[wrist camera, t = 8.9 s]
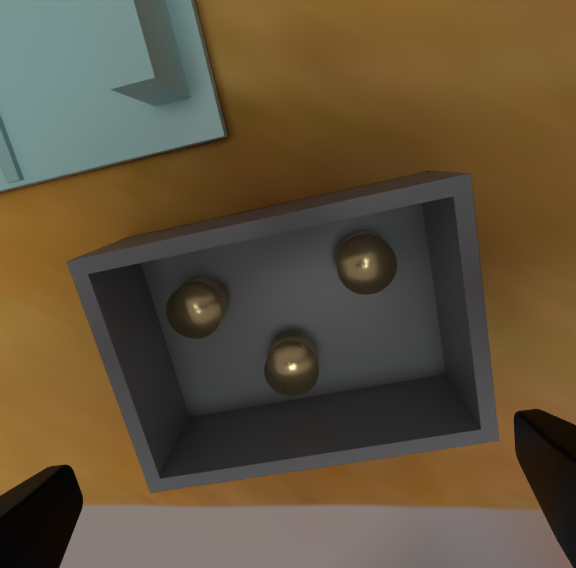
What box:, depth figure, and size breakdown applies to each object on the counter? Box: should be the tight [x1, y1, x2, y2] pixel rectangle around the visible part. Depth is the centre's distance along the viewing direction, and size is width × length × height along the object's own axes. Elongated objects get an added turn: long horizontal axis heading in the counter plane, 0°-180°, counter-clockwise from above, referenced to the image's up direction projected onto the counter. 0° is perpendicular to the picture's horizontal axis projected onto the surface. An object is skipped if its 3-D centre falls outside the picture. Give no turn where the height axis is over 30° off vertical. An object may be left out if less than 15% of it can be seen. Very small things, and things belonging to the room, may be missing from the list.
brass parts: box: [166, 230, 397, 396], centre depth 19 cm, size 10×6×2 cm, turn 103°
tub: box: [67, 171, 499, 493], centre depth 18 cm, size 14×10×5 cm
